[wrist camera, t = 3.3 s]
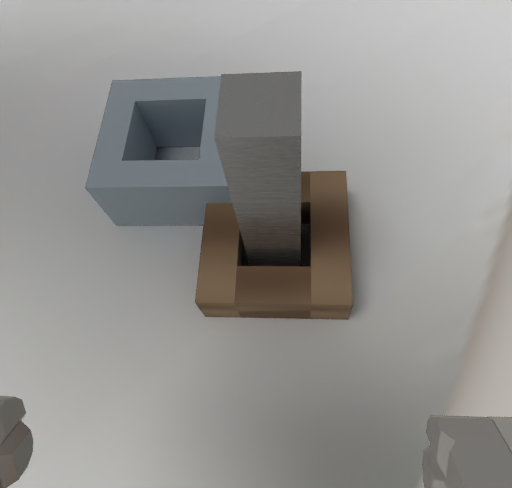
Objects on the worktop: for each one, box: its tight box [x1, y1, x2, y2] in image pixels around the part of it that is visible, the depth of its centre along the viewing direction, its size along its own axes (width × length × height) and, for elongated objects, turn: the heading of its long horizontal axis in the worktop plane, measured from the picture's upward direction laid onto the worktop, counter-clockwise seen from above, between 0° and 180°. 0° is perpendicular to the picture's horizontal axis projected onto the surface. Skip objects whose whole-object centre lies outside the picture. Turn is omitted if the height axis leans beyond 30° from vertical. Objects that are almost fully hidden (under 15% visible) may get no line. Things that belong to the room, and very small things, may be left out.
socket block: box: [195, 171, 353, 319], centre depth 28 cm, size 9×9×3 cm
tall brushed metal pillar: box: [214, 71, 301, 267], centre depth 23 cm, size 3×3×14 cm
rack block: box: [85, 76, 232, 225], centre depth 30 cm, size 9×9×5 cm
